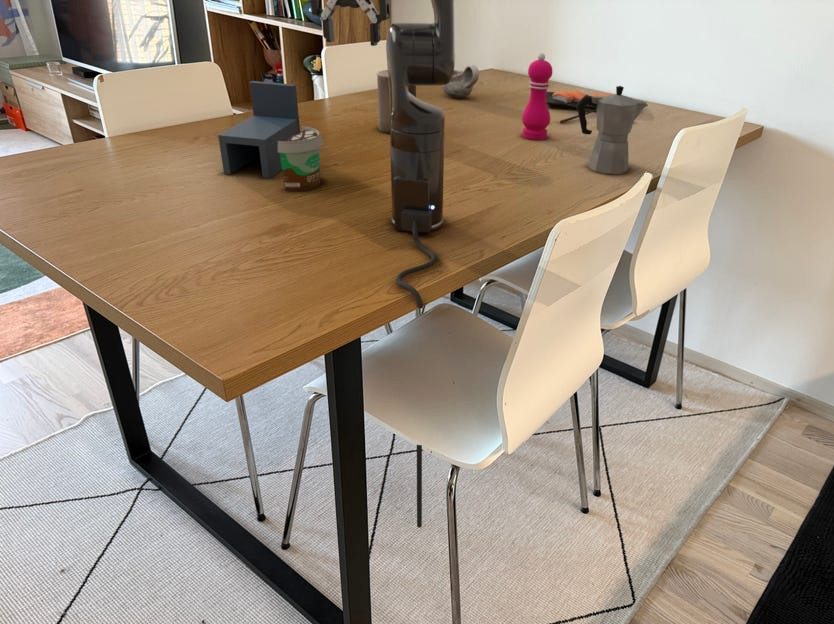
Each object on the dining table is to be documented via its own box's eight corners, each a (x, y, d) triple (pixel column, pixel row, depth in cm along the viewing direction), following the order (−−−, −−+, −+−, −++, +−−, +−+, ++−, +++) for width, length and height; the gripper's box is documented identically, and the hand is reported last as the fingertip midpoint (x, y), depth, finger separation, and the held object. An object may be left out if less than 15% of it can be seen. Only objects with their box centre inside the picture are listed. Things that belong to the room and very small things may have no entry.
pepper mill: (521, 132, 184) (527, 49, 173) (548, 134, 183) (557, 51, 172) (519, 139, 178) (526, 54, 167) (548, 141, 177) (556, 56, 166)
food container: (311, 196, 137) (307, 144, 132) (282, 192, 138) (276, 141, 133) (335, 176, 147) (331, 128, 142) (307, 173, 148) (303, 125, 143)
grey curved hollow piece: (453, 91, 220) (454, 57, 214) (487, 98, 214) (489, 63, 209) (435, 97, 213) (436, 61, 207) (470, 103, 207) (471, 67, 202)
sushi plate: (633, 104, 216) (635, 91, 214) (638, 129, 191) (641, 115, 189) (539, 97, 219) (541, 84, 217) (532, 121, 194) (533, 106, 192)
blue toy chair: (269, 178, 145) (260, 103, 136) (223, 173, 146) (212, 98, 138) (302, 153, 160) (296, 84, 151) (260, 149, 161) (252, 80, 152)
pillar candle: (419, 134, 177) (418, 71, 169) (380, 134, 175) (378, 71, 167) (413, 124, 185) (413, 63, 177) (376, 124, 183) (374, 63, 175)
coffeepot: (633, 163, 165) (647, 83, 155) (639, 176, 157) (654, 92, 147) (568, 159, 165) (577, 79, 155) (571, 172, 157) (581, 88, 147)
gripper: (299, -60, 120) (308, 43, 128) (380, -55, 118) (383, 49, 127) (316, -61, 126) (323, 38, 135) (392, -56, 124) (394, 43, 133)
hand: (352, 43), depth 131 cm, fingers open, 8 cm apart
